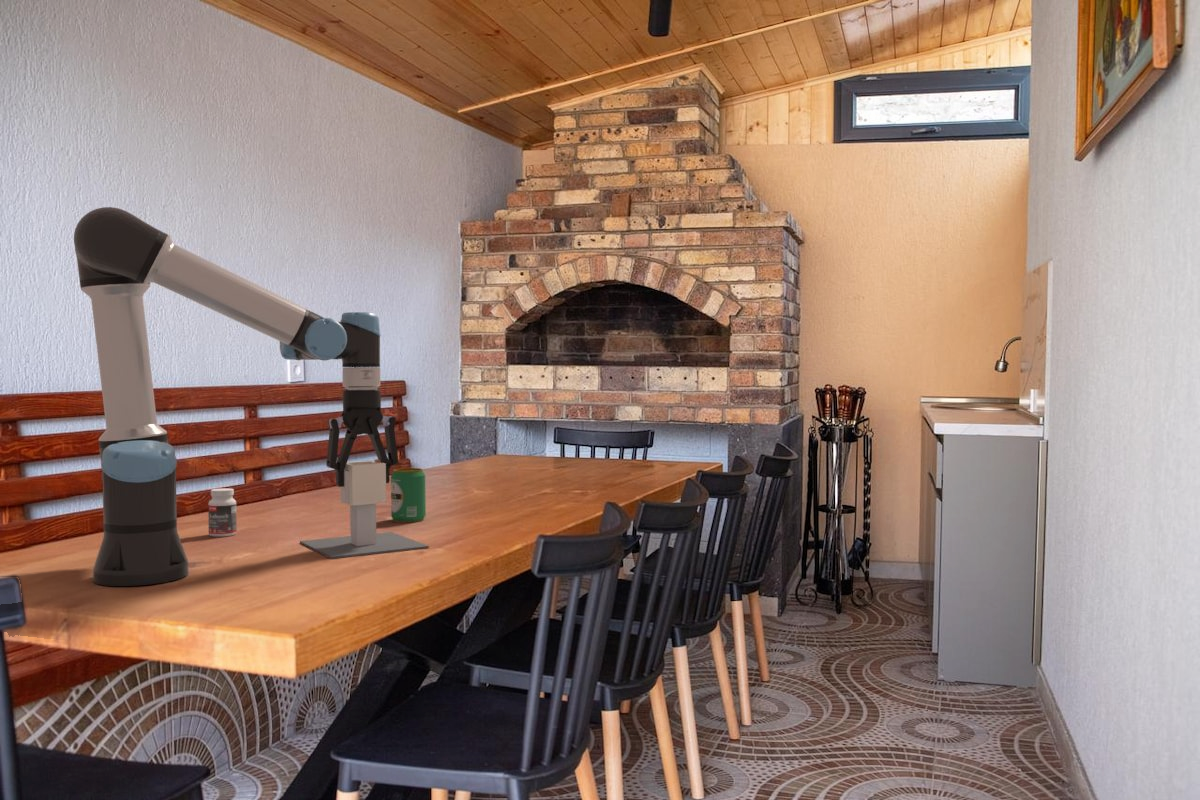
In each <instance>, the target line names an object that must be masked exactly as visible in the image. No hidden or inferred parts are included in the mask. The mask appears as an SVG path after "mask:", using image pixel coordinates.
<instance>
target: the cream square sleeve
mask: <svg viewBox="0 0 1200 800" xmlns="http://www.w3.org/2000/svg"><path fill="white" fill-rule="evenodd" d="M344 470H346V471H349V503H347V505H349V506H350V505H352V506H355V505H366V504H376V505H377V504H385V503H386V504H387V483H386V463H381V460H379V459H378V458H377V459H373V460H365V461H363V460H362V461H349V462H348V461H347V464H346V467H345V469H344Z"/></svg>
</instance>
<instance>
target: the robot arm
mask: <svg viewBox="0 0 1200 800" xmlns="http://www.w3.org/2000/svg"><path fill="white" fill-rule="evenodd" d="M73 242H74V244H73V245H74V251H75V256H76V261H77V262H76V263H77V269H78V278H79V279H78V280H79V286H80V287H79V288H80V290H81V291H82V292H83V293H84V294H85V295H86V296H88V297H89V298H90V300H91V302H90V303H91V311H92V318H93V326H94V334H95V343H96V351H97V358H98V359H97V360H98V368H99V375H100V376H99V377H100V384H101V394H102V401H103V402H102V403H103V411H104V419H105V427H106V429H105V430H104V432H103V433H102V434H101V435H100V436H99V438H98V446H99V455H100V466H101V467H100V468H101V480H102V512H103V513H102V515H103V516H102V517H103V536H102V537H103V538H102V540H101V544H100V545H99V550H98V552H97V555H96V559H95V562H94V565H93V570H92V571H93V572H92V574H93V576H92V579H93V583H94V584H97V585H101V586H107V587H134V586H147V585H155V584H161V583H168V582H173V581H176V580H179V579H182V578H184V577H186V576H188V575H189V559H188V556H187V554H186V551H185V549H184V547H183V543H182V541H181V538H180V536H179V533H178V523H177V522H178V520H177V519H178V517H177V515H178V513H177V512H178V511H177V510H178V508H177V507H178V505H177V469H176V468H177V466H178V460H177V457H176V451H175V448H174V447H173V445H171V444H170V443H169V439H168V431H167V430H165V428H163V427H161V425H159V424H158V421H157V419H158V418H157V411H156V410H157V409H156V403H155V402H156V401H155V393H154V384H153V383H154V382H153V377H152V376H153V375H152V369H151V368H152V367H151V366H152V365H151V360H150V359H151V358H150V350H149V340H148V333H147V332H148V331H147V323H146V322H147V321H146V314H145V313H146V312H145V305H144V295H145V293H146V292H147V291H148V290H149V288H150V287H151V283H154V284H157V285H159V286H160V287H163V288H164V289H167V290H168V291H169V290H170V291H171V292H174V293H176V294H178V295H180V296H182V297H185V298H186V299H187V300H190V301H193V302H195V303H198V304H200V305H201V306H204V307H206V308H208V309H210V310H212V311H214V312H217V313H219V314H221V315H223V316H225V317H227V318H229V319H231V320H234V321H235V322H238V323H240V324H243V326H244V325H245V326H246V327H248V328H250V329H252V330H255V331H257V332H259V333H262V334H263V335H266V336H268V337H270V338H272V339H275V340H277V341H279V350H280V351H279V352H280V355H281V356H282V358H283V359H284V360H295V361H301V360H302V361H304V360H305V361H308V360H309V361H310V360H311V361H312V360H313V361H314V360H315V361H316V360H317V361H319V360H320V361H329V360H341V363H342V387H343V388H345V389H344V390H343V391H342V413H341V415H340V416H339V417H336V418H328V419H327V425H328V430H329V434H328V445H327V453H326V467H327V468H330V469H333V470H335V484H336V487H338V488H340V502H341V503H342V504H345V505H346V504H347V503H349V471H346V470H344V469H345V467H346V464H347V462H348V461H349V458H350V454H351V452H352V448H353V447H354V443H355V440H356V439H357V437H358V436H360V435H363V434H364V435H367V436H368V438H369V439H370V442H371V444H372V447H373V449H374V452H375V455H376V457H377V459H379V460H381V463H386V484H389V483H390V482H391V477H390V469H391V468H392V466H394V465H398V463H399V457H398V455H399V454H398V448H397V447H398V446H397V440H396V439H397V438H396V432H395V426H396V423H397V421H396V420H397V418H396V417H395V416H388V415H387V416H386V415H384V414H383V412H382V410H381V408H382V396H381V395H382V392H381V390H380V389H378V388H380V387H381V356H380V355H381V335H382V334H381V331H380V319H379V316H378V315H377V314H376V313H374V312H365V311H364V312H363V311H362V312H360V311H359V312H358V311H357V312H354V311H353V312H349V311H348V312H343V313H342V314H341V318H340V321H337V320H335V319H333V318H330V317H329V318H328V317H323V316H322V315H319V314H318V313H316V312H313V311H311V310H309V309H307V308H305V307H303V306H301V305H299V304H297V303H295V302H293V301H290V300H289V299H287V298H284V297H282V296H281V295H278V294H276V293H275V292H272V291H271V290H268V289H266V288H264V287H262V286H260V285H259V284H257V283H254V282H253V281H251V280H248V279H246V278H244V277H242V276H240V275H238V274H235V273H234V272H231V271H229V270H228V269H226V268H224V267H221V266H220V265H218V264H215V263H213V262H211V261H209V260H207V259H205V258H202V257H201V256H199V255H197V254H195V253H193V252H191V251H189V250H187V249H185V248H183V247H180V246H178V245H176V244H175V243H173V240H172V237H171V235H170V234H168V233H165V232H163V231H162V230H160V229H157V228H156V227H155V226H152V225H151V224H149V223H148V222H146V221H144V220H142V219H141V218H139V217H137V216H136V215H134V214H132V213H130V212H129V211H127V210H124V209H121V208H118V207H114V206H113V207H112V206H109V207H108V206H103V207H98V208H95V209H93V210H91V211H89V212H87V213H86V214H85V215H83V216H82V217H81V218H80V220H79V221H78V223H77V224H76V227H75V228H74V233H73ZM342 423H343V425H344V426H345V427H346V431H345V433H344V434H345V435H344V439H343V443H342V445H341V448H340V451H339V450H338V449H339V440H340V439H339V438H340V429H341V427H342ZM381 423H382V425H383V427H384V438H385V445H386V450H385V447H384V444H383V442H382V440H381V435H380V432H379V429H378V427H379V425H380V424H381ZM338 451H339V455H338ZM386 451H387V452H386ZM347 505H348V504H347Z"/></svg>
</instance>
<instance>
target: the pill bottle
mask: <svg viewBox="0 0 1200 800" xmlns="http://www.w3.org/2000/svg"><path fill="white" fill-rule="evenodd" d="M234 494H235V490H234V488H231V487H230V488H227V487H226V488H225V487H224V488H220V487H219V488H212V489H211V490H210V496H211V499H210V500H209V501H208V505H207V506H208V507H207V508H208V512H207V513H208V535H209V536H210V537H214V538H215V537H216V538H219V537H220V538H221V537H222V538H223V537H224V538H225V537H230V536H234V535H236V534H237V524H238V523H237V500H235V498H233V497H234Z"/></svg>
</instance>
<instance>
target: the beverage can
mask: <svg viewBox="0 0 1200 800" xmlns="http://www.w3.org/2000/svg"><path fill="white" fill-rule="evenodd" d="M390 498H391V499H390V500H391V501H390V502H391V503H390V504H391V505H390V509H391V510H390V511H391V513H390V514H391V518H392V521H393V522H395V523H417V522H422V521H424V519H425V517H426V512H427V510H426V509H427V508H426V503H427V502H426V473H425V472H424V470H423V468H418V467H417V468H416V467H404V468H394V469H393V471H392V473H391V474H390Z"/></svg>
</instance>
